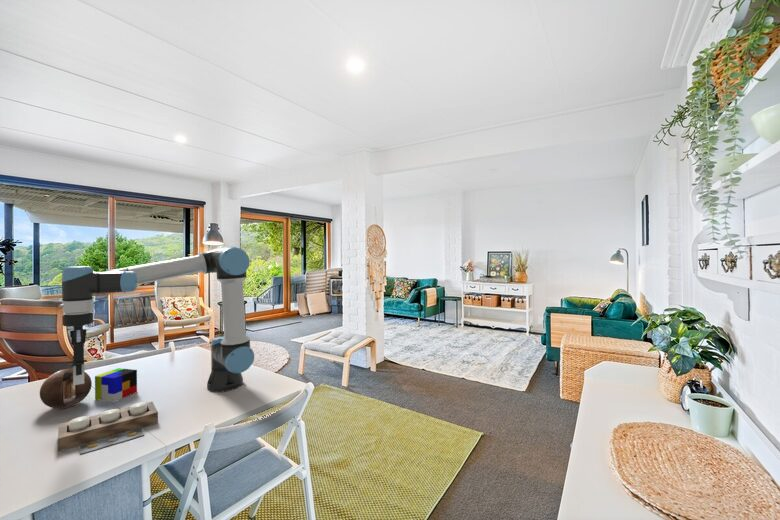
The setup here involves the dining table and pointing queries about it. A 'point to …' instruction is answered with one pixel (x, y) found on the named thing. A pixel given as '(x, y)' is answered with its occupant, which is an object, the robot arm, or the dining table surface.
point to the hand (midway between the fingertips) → (78, 382)
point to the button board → (107, 430)
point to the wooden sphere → (64, 389)
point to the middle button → (109, 415)
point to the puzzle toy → (115, 384)
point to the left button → (78, 423)
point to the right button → (138, 408)
